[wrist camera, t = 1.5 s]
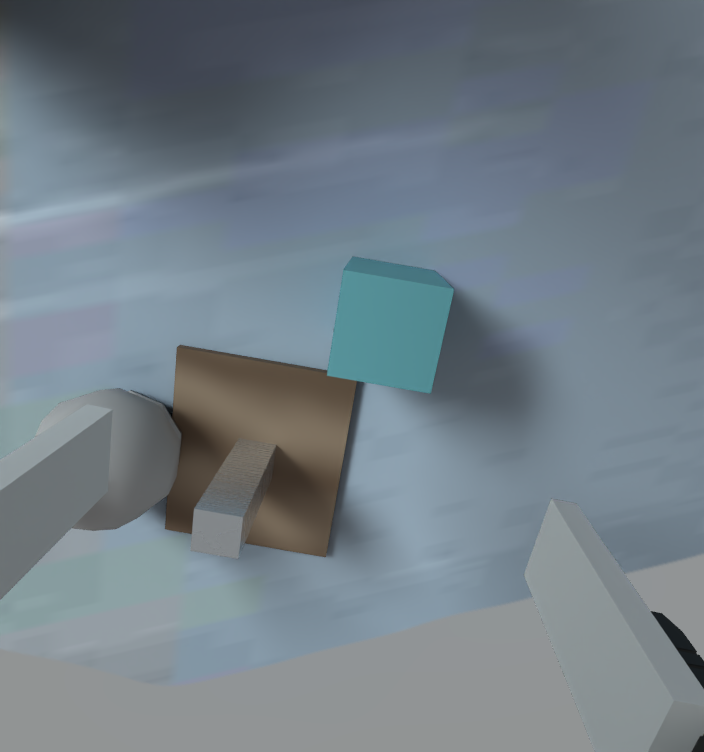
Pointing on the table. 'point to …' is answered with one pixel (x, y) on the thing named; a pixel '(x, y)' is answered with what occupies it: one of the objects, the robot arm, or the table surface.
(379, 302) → the teal boxy block
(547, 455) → the table surface
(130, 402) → the potion bottle
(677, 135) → the table surface
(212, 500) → the post
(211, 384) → the board
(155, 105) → the table surface
